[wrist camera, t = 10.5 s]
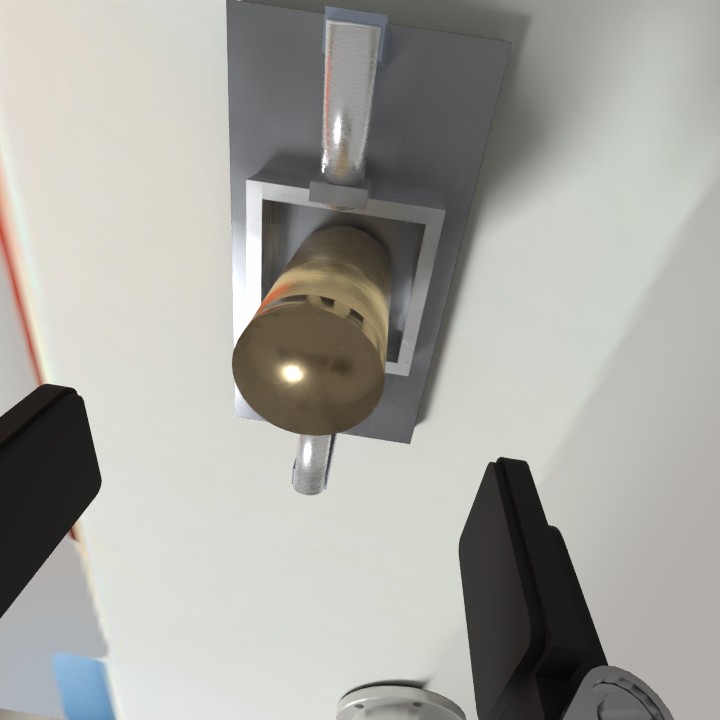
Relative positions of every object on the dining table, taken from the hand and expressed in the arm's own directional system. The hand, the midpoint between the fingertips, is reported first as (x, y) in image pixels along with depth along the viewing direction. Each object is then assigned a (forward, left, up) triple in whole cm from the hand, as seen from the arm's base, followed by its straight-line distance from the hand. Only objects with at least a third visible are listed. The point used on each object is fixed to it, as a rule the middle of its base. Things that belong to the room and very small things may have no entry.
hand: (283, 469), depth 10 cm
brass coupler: (0, 0, -11) cm, 11 cm away
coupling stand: (0, 0, -12) cm, 12 cm away
